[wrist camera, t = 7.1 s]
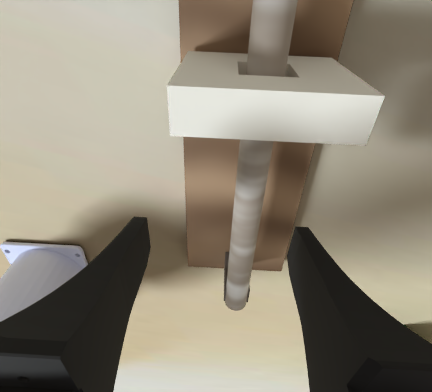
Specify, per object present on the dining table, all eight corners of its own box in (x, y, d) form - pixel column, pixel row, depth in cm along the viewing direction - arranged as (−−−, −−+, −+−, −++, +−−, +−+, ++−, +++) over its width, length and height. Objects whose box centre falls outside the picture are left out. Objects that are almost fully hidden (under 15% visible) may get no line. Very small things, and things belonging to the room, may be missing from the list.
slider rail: (279, 261, 28) (289, 318, 24) (189, 256, 29) (181, 311, 24) (361, -61, 14) (428, -84, 9) (179, -69, 14) (154, -96, 9)
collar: (322, 94, 17) (366, 145, 12) (189, 87, 17) (169, 135, 12) (331, 57, 16) (384, 96, 10) (188, 51, 16) (166, 85, 10)
